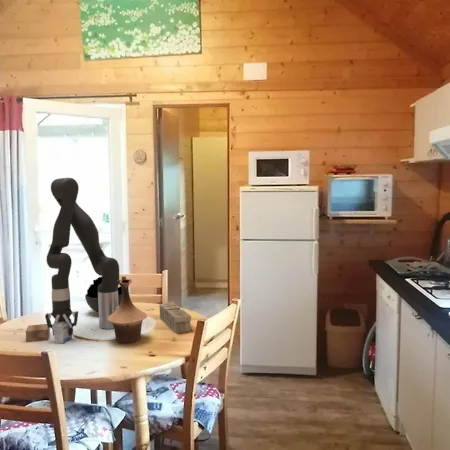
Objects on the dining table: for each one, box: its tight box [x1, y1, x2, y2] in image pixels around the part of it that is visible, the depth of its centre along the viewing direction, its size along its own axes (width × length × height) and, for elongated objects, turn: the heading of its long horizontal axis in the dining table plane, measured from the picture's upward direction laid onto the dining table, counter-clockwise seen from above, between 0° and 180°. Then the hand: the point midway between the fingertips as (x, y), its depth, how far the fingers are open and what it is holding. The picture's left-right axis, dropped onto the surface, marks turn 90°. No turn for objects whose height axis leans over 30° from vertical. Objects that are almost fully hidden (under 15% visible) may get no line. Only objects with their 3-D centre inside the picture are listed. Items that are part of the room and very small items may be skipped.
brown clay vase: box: [107, 275, 148, 345], centre depth 212 cm, size 18×17×28 cm
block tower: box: [158, 301, 192, 334], centre depth 234 cm, size 8×8×29 cm
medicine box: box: [52, 320, 73, 344], centre depth 213 cm, size 8×4×9 cm, turn 169°
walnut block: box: [25, 323, 51, 343], centre depth 218 cm, size 9×9×5 cm
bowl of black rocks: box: [84, 276, 122, 314], centre depth 256 cm, size 20×20×19 cm
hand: (63, 335), depth 214 cm, fingers closed on medicine box, 5 cm apart
